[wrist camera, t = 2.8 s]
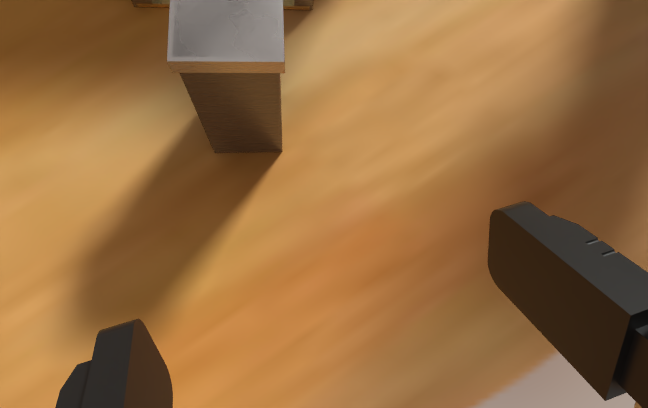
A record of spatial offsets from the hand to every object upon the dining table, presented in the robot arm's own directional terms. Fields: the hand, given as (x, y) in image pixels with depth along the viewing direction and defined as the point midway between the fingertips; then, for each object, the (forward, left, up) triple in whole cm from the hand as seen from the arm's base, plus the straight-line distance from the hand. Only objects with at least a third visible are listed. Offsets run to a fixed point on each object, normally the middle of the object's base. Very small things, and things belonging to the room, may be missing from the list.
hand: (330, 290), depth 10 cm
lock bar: (+3, -11, -15) cm, 19 cm away
